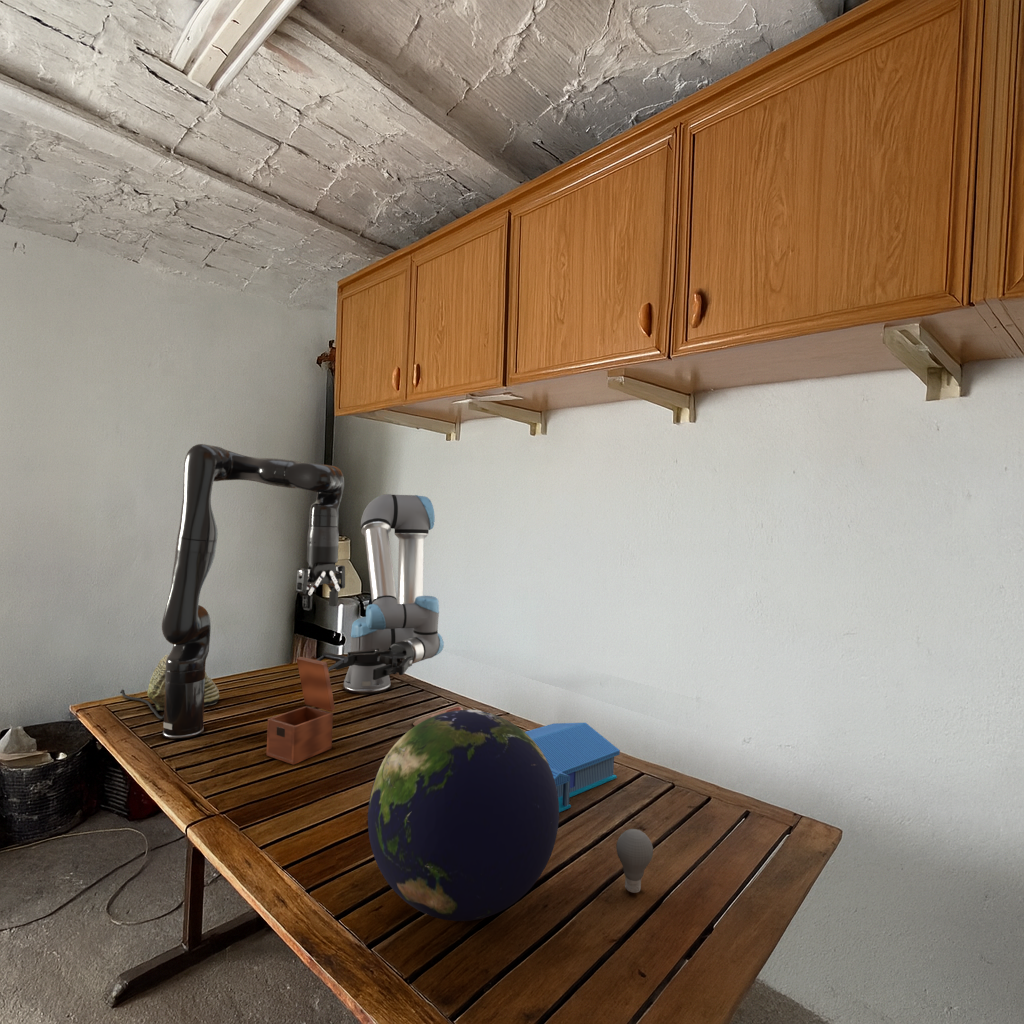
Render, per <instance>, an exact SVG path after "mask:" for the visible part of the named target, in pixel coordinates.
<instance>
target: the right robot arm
mask: <svg viewBox="0 0 1024 1024" xmlns="http://www.w3.org/2000/svg"><path fill="white" fill-rule="evenodd" d="M435 515H436V514H435V509H434V505H433V503H432V501H431V499H430V498H429V497H427V496H424V495H418V494H414V495H413V494H391V493H385V494H380V495H378V496H376V497H374V498H373V499H372V500H371V501H370V502H369V503H368V504H367V505H366V507H365V509H364V510H363V513H362V515H361V519H360V531H361V535H362V536H363V537H364V538H365V541H364V542H365V550H366V557H367V559H366V560H367V568H368V578H369V586H370V595H371V596H370V597H371V604H368V605H367V607H366V609H365V616H363V617H359V618H357V619H356V620H354V621H353V622H352V623H351V624H352V625H351V630H350V651H348V652H347V653H346V654H347V656H346V657H348V661H347V663H341V664H340V665H338V666H337V667H335V668H334V669H335V670H336V671H338V670H342V669H345V668H348V669H347V672H346V675H345V677H344V680H343V690H344V691H346V692H347V693H351V694H358V695H373V694H379V693H384V692H387V691H388V690H390V689H391V683H392V682H391V678H390V675H397V674H398V675H399V676H403V675H404V674H405V673H406V672H407V670H408V669H409V668H411V667H412V666H413V664H416V663H420V662H421V661H425V660H427V659H432V658H434V657H436V656H438V655H439V654H441V653H442V652H443V649H444V646H445V642H444V639H443V636H442V635H441V634H440V633H439V632H438V629H439V615H440V600H439V598H437V597H436V596H432V595H424V563H425V562H424V559H425V538H427V537H428V536H429V531H431V530H432V529H433V528H434V526H435V521H436V518H435ZM392 529H393V530H394V536H395V537H396V538H397V539H398V559H397V560H398V562H397V563H398V565H397V566H398V567H397V591H396V582H395V574H394V568H393V558H392V550H391V545H390V536H389V534H390V532H391V531H392ZM337 662H338V661H335V663H337Z"/></svg>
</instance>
